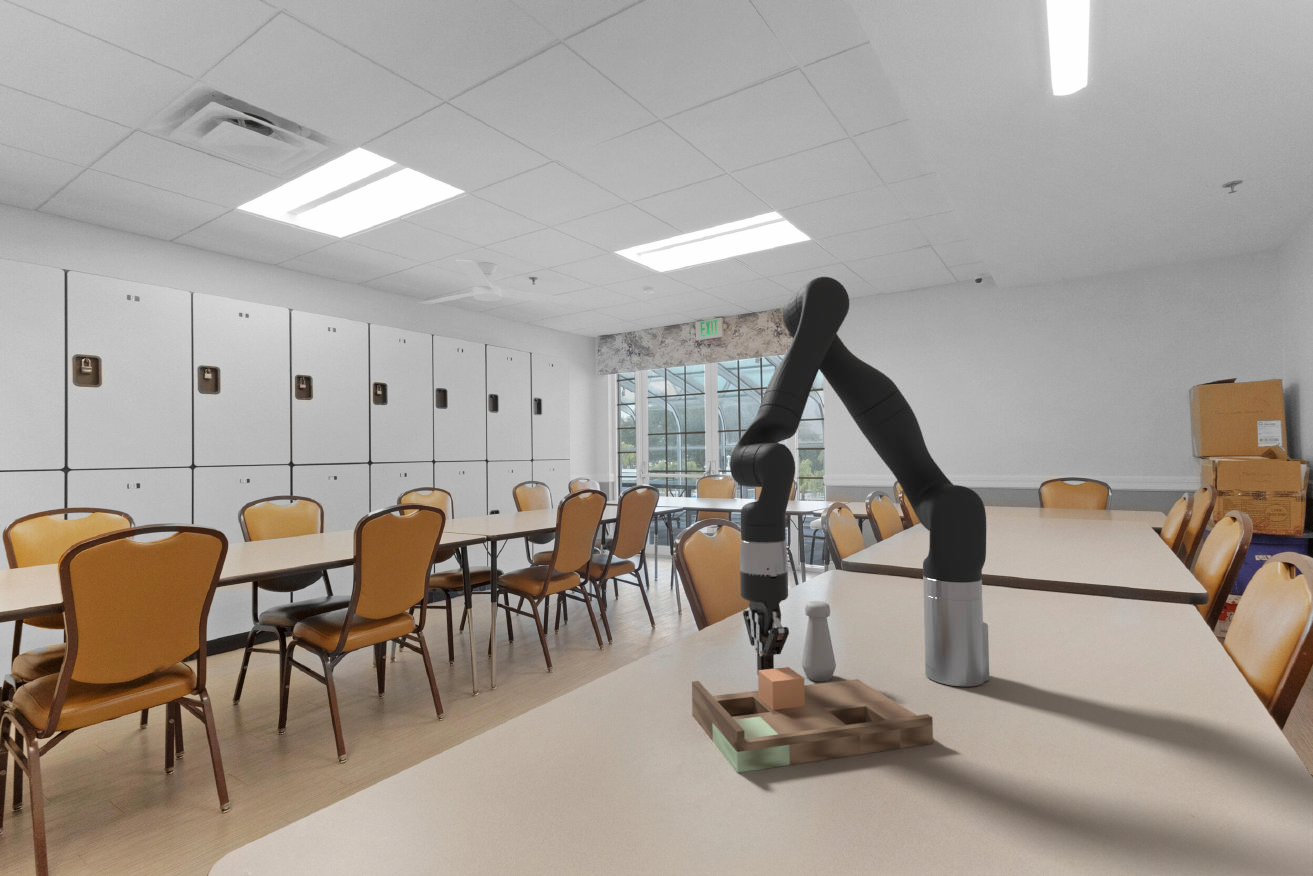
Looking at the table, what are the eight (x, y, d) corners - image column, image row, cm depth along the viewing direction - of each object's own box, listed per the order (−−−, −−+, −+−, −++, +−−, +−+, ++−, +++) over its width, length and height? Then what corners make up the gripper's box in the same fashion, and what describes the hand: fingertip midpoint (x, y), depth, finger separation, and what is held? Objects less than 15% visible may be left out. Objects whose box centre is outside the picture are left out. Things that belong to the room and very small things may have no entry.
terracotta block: (789, 693, 97) (788, 667, 97) (804, 706, 92) (804, 678, 92) (758, 697, 96) (758, 670, 96) (773, 710, 91) (772, 681, 91)
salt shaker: (837, 684, 107) (835, 606, 108) (802, 682, 109) (800, 605, 109) (834, 672, 113) (833, 599, 114) (801, 670, 114) (800, 598, 115)
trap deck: (857, 694, 103) (857, 663, 103) (933, 743, 85) (932, 705, 85) (692, 715, 96) (691, 681, 96) (737, 772, 78) (736, 731, 78)
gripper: (726, 562, 107) (728, 666, 107) (758, 577, 94) (760, 695, 94) (768, 560, 109) (770, 662, 109) (804, 574, 96) (807, 690, 96)
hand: (765, 677), depth 101 cm, fingers closed
